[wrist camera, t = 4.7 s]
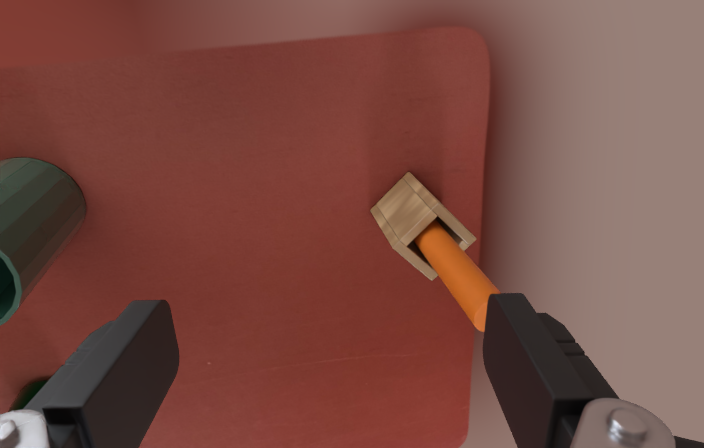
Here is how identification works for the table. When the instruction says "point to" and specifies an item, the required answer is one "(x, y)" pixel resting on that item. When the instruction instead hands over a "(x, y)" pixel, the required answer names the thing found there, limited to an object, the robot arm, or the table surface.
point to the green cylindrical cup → (33, 225)
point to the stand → (415, 221)
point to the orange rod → (457, 272)
